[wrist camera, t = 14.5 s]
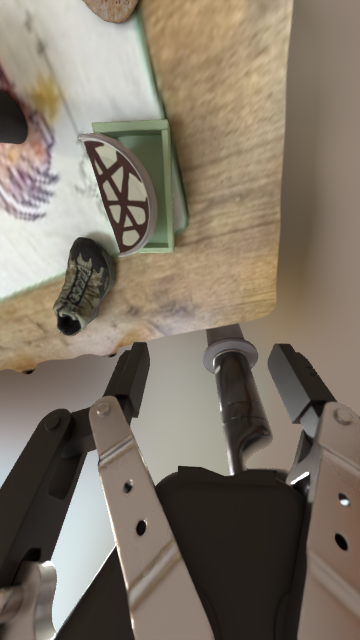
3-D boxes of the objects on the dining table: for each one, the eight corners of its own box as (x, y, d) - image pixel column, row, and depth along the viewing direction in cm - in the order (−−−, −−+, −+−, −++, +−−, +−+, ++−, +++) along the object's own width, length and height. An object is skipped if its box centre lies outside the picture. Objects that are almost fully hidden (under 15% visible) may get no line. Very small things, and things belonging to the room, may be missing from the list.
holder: (174, 246, 32) (173, 252, 29) (126, 247, 33) (120, 253, 30) (170, 127, 23) (167, 119, 20) (102, 130, 23) (91, 122, 21)
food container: (170, 237, 31) (163, 255, 23) (136, 241, 31) (119, 260, 24) (155, 138, 23) (138, 115, 15) (112, 147, 24) (74, 128, 16)
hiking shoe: (124, 248, 33) (105, 266, 25) (102, 325, 45) (84, 353, 37) (77, 225, 31) (42, 238, 23) (67, 313, 43) (42, 339, 35)
